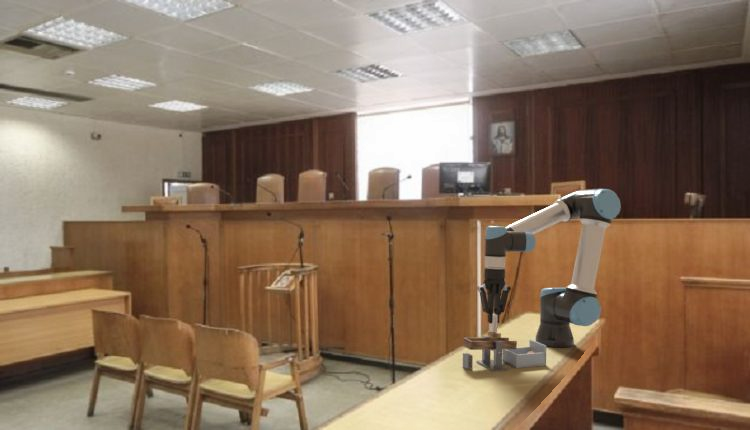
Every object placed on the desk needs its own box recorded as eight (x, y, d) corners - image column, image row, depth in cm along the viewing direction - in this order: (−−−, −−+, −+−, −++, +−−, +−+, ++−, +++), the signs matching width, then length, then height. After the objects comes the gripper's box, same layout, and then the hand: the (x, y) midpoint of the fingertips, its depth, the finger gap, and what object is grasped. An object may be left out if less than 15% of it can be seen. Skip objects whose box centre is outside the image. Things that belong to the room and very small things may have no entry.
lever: (495, 340, 200) (496, 331, 200) (516, 349, 187) (516, 339, 187) (452, 340, 195) (452, 331, 195) (470, 349, 182) (471, 340, 182)
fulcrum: (491, 361, 194) (491, 334, 194) (507, 369, 183) (508, 342, 183) (458, 363, 190) (458, 337, 190) (473, 372, 179) (473, 344, 179)
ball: (525, 361, 194) (533, 357, 195) (531, 363, 191) (539, 360, 192) (523, 352, 194) (531, 348, 195) (529, 354, 190) (536, 351, 191)
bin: (530, 358, 198) (531, 339, 198) (546, 365, 189) (546, 345, 189) (502, 361, 194) (502, 341, 194) (516, 368, 186) (516, 347, 185)
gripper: (505, 266, 203) (503, 328, 204) (473, 266, 199) (472, 330, 199) (516, 268, 196) (514, 333, 196) (483, 269, 192) (482, 334, 192)
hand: (493, 331), depth 198 cm, fingers closed
